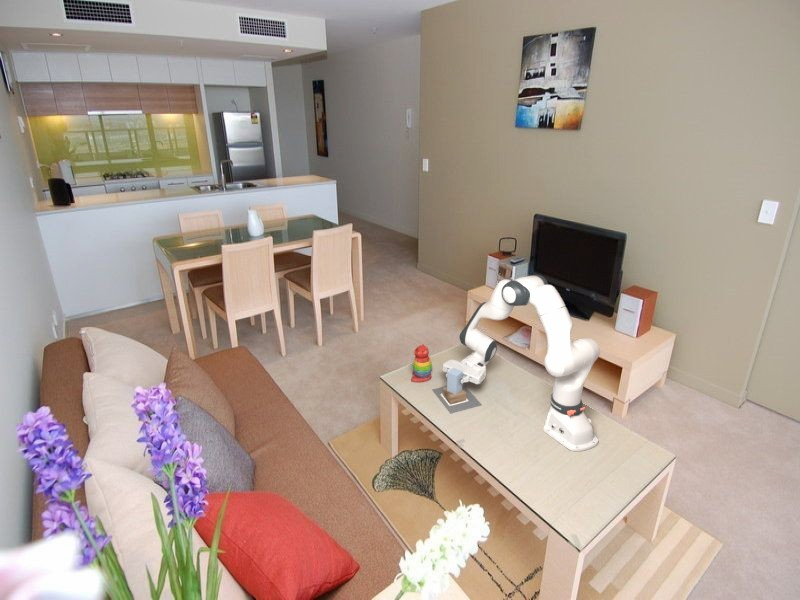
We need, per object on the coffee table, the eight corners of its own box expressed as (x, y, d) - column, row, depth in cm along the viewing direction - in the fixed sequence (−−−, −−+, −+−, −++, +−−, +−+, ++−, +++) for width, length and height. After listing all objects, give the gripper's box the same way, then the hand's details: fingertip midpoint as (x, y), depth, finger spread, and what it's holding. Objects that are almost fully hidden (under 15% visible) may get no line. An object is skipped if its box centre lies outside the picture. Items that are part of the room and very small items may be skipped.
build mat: (482, 405, 209) (482, 405, 208) (450, 414, 204) (450, 413, 203) (461, 382, 226) (461, 382, 226) (431, 390, 221) (431, 389, 221)
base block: (466, 400, 212) (466, 393, 210) (450, 404, 210) (450, 397, 208) (458, 391, 219) (458, 383, 217) (442, 394, 216) (442, 387, 215)
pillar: (462, 389, 213) (462, 371, 209) (456, 394, 209) (456, 376, 205) (453, 386, 216) (453, 367, 212) (447, 390, 212) (447, 372, 208)
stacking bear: (412, 371, 237) (412, 340, 230) (432, 372, 235) (432, 341, 228) (410, 382, 227) (409, 351, 220) (431, 384, 226) (431, 352, 218)
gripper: (451, 353, 224) (435, 365, 214) (489, 367, 212) (473, 380, 202) (451, 364, 226) (435, 377, 217) (488, 378, 214) (472, 392, 205)
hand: (453, 379), depth 209 cm, fingers open, 6 cm apart
